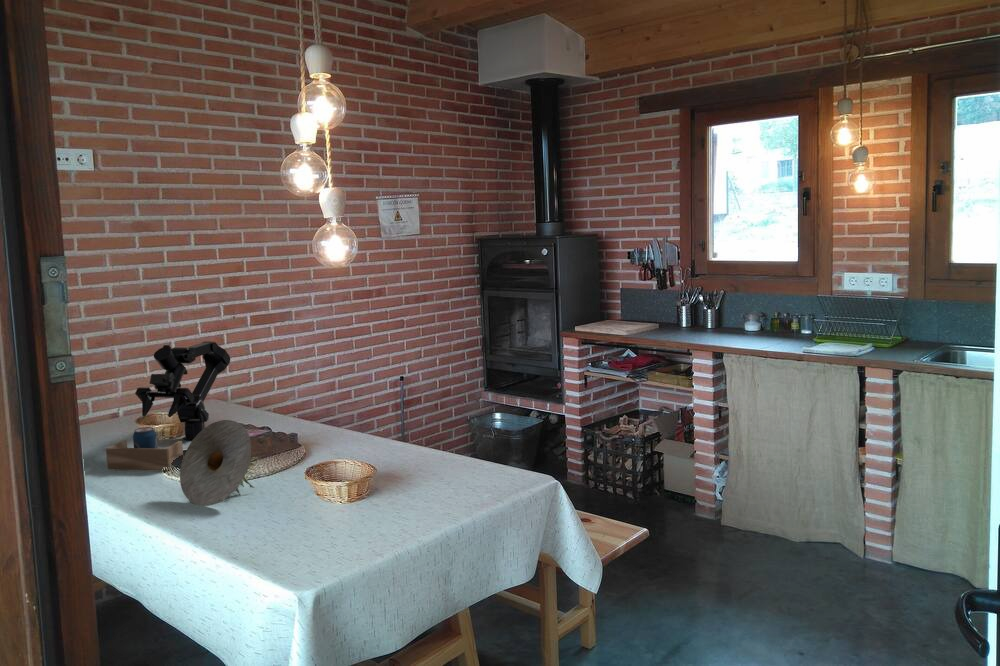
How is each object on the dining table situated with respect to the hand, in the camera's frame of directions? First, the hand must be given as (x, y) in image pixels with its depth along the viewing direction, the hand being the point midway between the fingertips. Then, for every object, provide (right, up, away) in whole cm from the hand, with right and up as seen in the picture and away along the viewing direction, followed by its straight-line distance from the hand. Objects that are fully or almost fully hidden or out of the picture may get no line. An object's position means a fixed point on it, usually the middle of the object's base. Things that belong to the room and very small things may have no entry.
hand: (156, 416), depth 266 cm
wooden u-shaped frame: (0, -15, -6) cm, 16 cm away
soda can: (0, -15, -6) cm, 16 cm away
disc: (+35, -19, -35) cm, 53 cm away
